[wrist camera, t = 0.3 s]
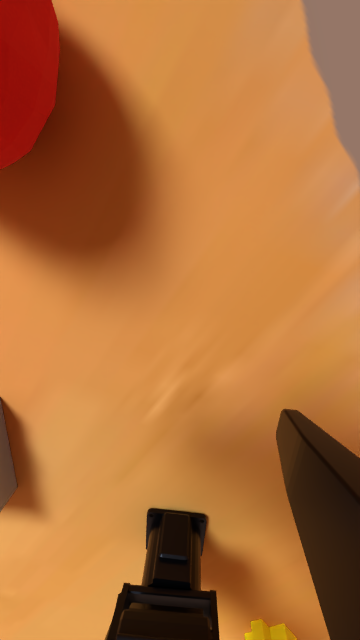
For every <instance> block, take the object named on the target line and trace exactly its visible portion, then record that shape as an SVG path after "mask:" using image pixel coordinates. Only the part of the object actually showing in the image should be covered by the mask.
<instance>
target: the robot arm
mask: <svg viewBox="0 0 360 640" xmlns="http://www.w3.org/2000/svg"><path fill="white" fill-rule="evenodd" d="M276 440H277V445H278V451H279V456H280V461H281V467H282V472H283V477H284V483H285V487H286V492H287V496H288V499H289V503H290V506H291V510H292V513H293V516H294V520H295V523H296V526H297V530H298V533H299V536H300V540H301V543H302V546H303V550H304V553H305V556H306V560H307V563H308V566H309V570H310V573H311V576H312V580H313V583H314V586H315V590H316V593H317V596H318V600H319V603H320V606H321V610H322V613H323V616H324V620H325V623H326V626H327V630H328V633H329V636H330V640H360V458H359V457H357V456H356V455H355V454H353V453H352V452H351V451H350V450H348V449H347V448H346V447H344V446H343V445H342V444H341V443H339V442H338V441H337V440H335V439H334V438H333V437H331V436H330V435H329V434H328V433H326V432H325V431H324V430H322V429H321V428H320V427H318V426H317V425H316V424H315V423H313V422H312V421H311V420H309V419H308V418H307V417H305V416H304V415H303V414H302V413H300V412H299V411H297V410H291V409H283V410H282V412H281V414H280V418H279V422H278V427H277V431H276ZM205 529H206V516H205V515H203V514H195V513H186V512H177V511H168V510H159V509H149V510H148V512H147V529H146V549H147V554H146V560H145V566H144V572H143V579H142V585H130V583H124V585H123V589H122V592H121V593H120V594H118V599H117V603H116V608H115V612H114V615H113V619H112V622H111V625H110V627H109V630H108V633H107V635H106V638H105V640H219V626H218V612H217V597H216V591H215V590H210V591H201V556H202V551H203V543H204V536H205Z"/></svg>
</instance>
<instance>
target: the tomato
mask: <svg viewBox="0 0 360 640" xmlns="http://www.w3.org/2000/svg"><path fill="white" fill-rule="evenodd" d="M59 56H60V44H59V29H58V21H57V18H56V14H55V11H54V7H53V4H52V1H51V0H0V169H2V168H4V167H7V166H9V165H11V164H13V163H14V162H16V161H17V160H19V159H20V158H21V157H23V156H24V155H26V154H27V153H28V152H30V151H31V149H32V147H33V145H34V143H35V142H36V140H37V138H38V136H39V134H40V132H41V130H42V128H43V127H44V125H45V123H46V121H47V119H48V117H49V115H50V114H51V112H52V110H53V108H54V106H55V101H56V90H57V78H58V67H59Z"/></svg>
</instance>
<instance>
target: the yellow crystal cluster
mask: <svg viewBox="0 0 360 640" xmlns="http://www.w3.org/2000/svg"><path fill="white" fill-rule="evenodd" d="M251 630H252V632H248V633H245V634H244V636H245V640H297V638H296V637H295V635H294V634H293V633H292V632H291V631H290V630H289V629H288V628H287V626H286V625H285V624H284V623H283V624H279V625H275V626H271V627H268V625H267V624H266V623H265V622H264V621H263V620H262V619H258V620H255V621H251Z"/></svg>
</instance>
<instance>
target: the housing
mask: <svg viewBox="0 0 360 640" xmlns="http://www.w3.org/2000/svg"><path fill="white" fill-rule="evenodd" d="M16 489H17V482H16V477H15V471H14V466H13V461H12V456H11V451H10V445H9V440H8V435H7V430H6V425H5V419H4V414H3V409H2V404H1V399H0V512H1V510H2V509H3V508H4V506H5V505H6V503H7V502H8V500H9V499H10V497H11V496H12V494H13V493H14V492H15V490H16Z"/></svg>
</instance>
